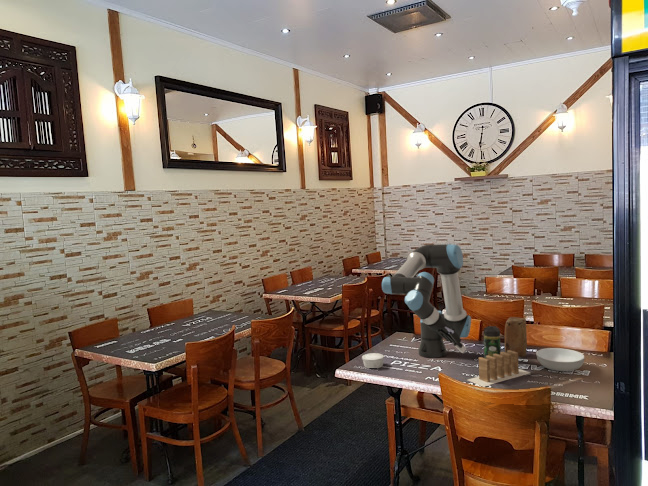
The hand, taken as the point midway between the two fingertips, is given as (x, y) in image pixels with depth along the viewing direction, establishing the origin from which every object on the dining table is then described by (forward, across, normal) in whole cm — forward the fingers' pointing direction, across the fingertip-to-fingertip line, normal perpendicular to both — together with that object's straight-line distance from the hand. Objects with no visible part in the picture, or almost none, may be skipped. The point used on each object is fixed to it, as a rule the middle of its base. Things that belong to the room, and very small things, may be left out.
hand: (463, 350), depth 212 cm
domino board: (+27, 0, +3) cm, 27 cm away
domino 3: (+26, 0, +4) cm, 26 cm away
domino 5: (+32, 0, +10) cm, 34 cm away
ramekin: (0, -49, -24) cm, 54 cm away
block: (+49, -19, +25) cm, 58 cm away
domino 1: (+20, 0, -3) cm, 20 cm away
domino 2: (+23, 0, 0) cm, 23 cm away
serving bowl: (+50, +6, +26) cm, 57 cm away
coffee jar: (+36, -17, +12) cm, 41 cm away
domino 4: (+29, 0, +7) cm, 30 cm away
